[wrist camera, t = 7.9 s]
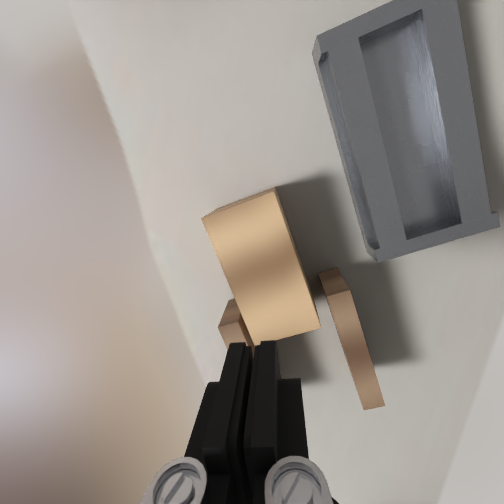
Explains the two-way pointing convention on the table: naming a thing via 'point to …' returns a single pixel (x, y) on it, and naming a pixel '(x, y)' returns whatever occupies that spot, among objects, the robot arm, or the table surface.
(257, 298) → the cardboard-coloured box
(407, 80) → the grey shallow tray
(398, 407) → the table surface
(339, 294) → the wooden blocks
